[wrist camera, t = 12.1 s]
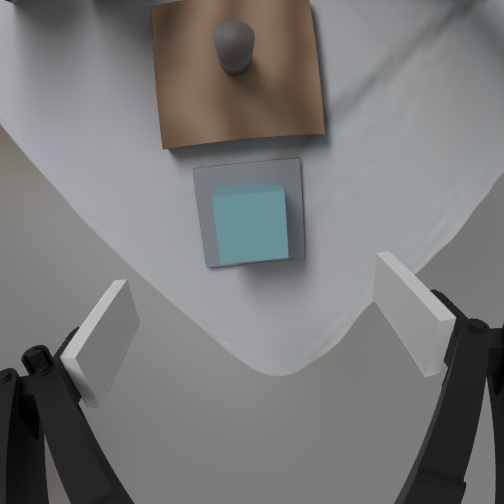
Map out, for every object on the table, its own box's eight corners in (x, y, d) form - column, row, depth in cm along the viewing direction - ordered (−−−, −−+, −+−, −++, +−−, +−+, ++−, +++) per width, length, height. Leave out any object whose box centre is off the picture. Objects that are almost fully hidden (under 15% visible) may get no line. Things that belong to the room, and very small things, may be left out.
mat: (298, 158, 32) (299, 158, 32) (303, 256, 36) (304, 258, 36) (193, 168, 32) (192, 169, 32) (207, 265, 36) (206, 267, 36)
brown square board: (304, -2, 26) (326, -43, 16) (320, 133, 31) (351, 134, 22) (156, 13, 26) (127, -24, 16) (167, 148, 31) (137, 155, 22)
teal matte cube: (278, 182, 32) (284, 190, 28) (282, 249, 35) (289, 267, 30) (216, 188, 32) (211, 197, 28) (224, 254, 35) (222, 274, 30)
